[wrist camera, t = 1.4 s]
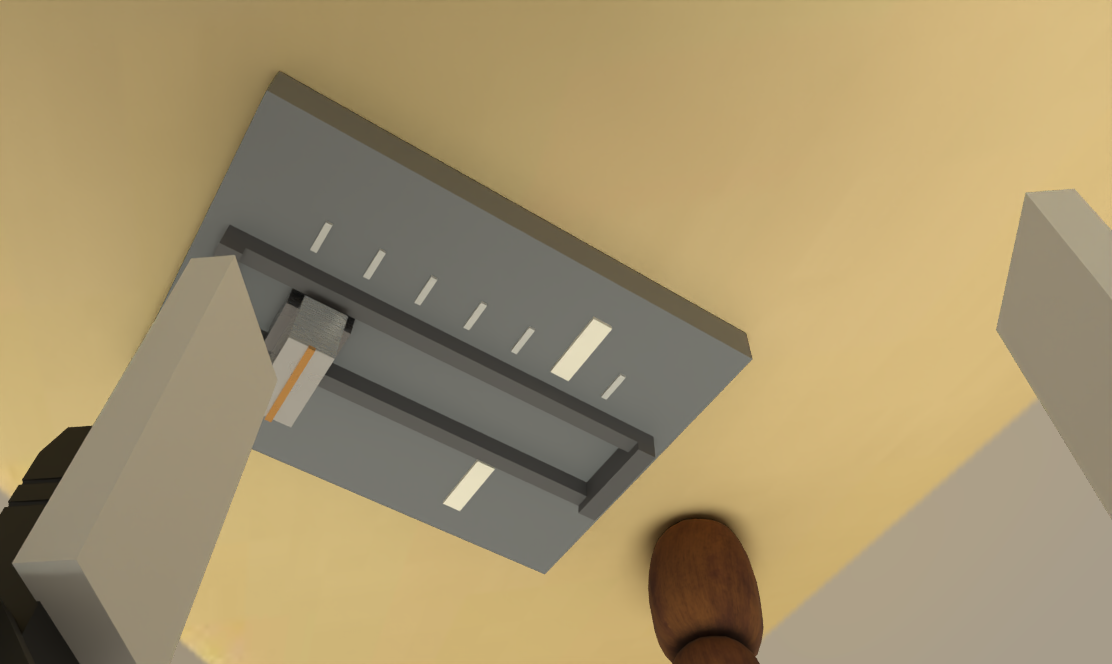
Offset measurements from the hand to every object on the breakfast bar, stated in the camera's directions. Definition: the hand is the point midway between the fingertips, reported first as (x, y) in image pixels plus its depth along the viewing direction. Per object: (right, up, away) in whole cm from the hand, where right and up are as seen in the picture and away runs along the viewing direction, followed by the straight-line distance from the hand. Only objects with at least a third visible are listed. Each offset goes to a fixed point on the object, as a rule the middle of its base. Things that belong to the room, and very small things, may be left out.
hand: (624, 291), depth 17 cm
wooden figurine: (+7, -13, +39) cm, 41 cm away
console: (-7, -2, +31) cm, 31 cm away
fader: (-12, 0, +27) cm, 30 cm away
